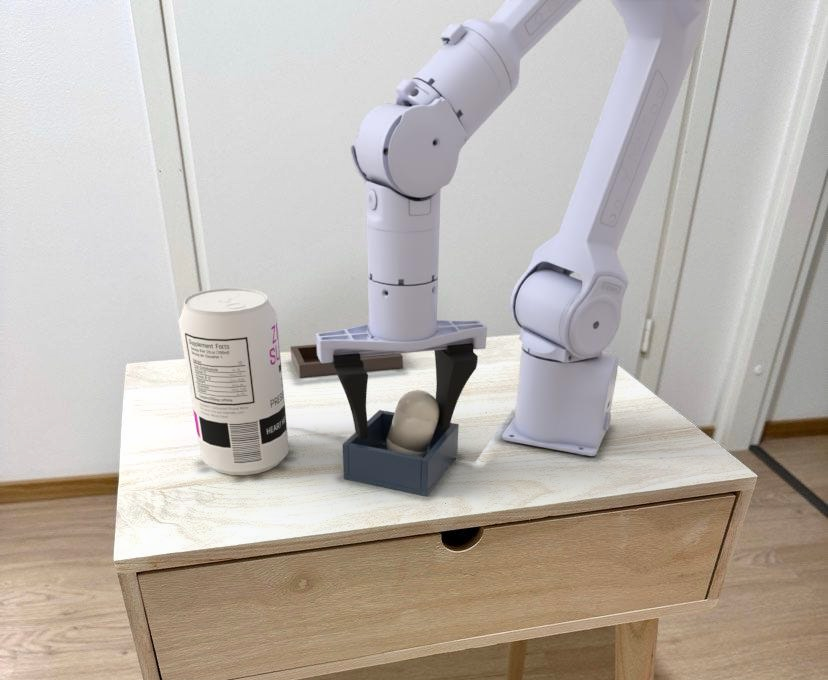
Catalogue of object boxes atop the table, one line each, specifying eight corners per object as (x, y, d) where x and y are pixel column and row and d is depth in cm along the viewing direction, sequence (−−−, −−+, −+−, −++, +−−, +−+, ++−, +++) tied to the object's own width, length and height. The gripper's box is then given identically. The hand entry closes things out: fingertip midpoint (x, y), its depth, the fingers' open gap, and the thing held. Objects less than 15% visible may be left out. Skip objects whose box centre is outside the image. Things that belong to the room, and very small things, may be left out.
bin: (457, 457, 73) (459, 423, 71) (427, 496, 67) (427, 461, 65) (379, 442, 75) (379, 409, 73) (343, 478, 69) (342, 444, 67)
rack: (402, 373, 91) (402, 356, 90) (300, 382, 88) (298, 365, 87) (388, 354, 96) (388, 338, 95) (291, 363, 93) (290, 346, 92)
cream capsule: (427, 465, 72) (451, 396, 69) (413, 475, 69) (437, 403, 66) (390, 449, 73) (412, 380, 70) (374, 458, 69) (396, 386, 66)
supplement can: (188, 453, 73) (160, 295, 64) (264, 432, 77) (247, 281, 68) (225, 487, 67) (200, 320, 59) (305, 462, 72) (292, 302, 63)
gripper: (470, 259, 66) (462, 404, 74) (305, 269, 63) (315, 420, 70) (500, 280, 60) (488, 435, 68) (321, 292, 57) (330, 453, 65)
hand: (402, 429), depth 69 cm, fingers open, 7 cm apart
